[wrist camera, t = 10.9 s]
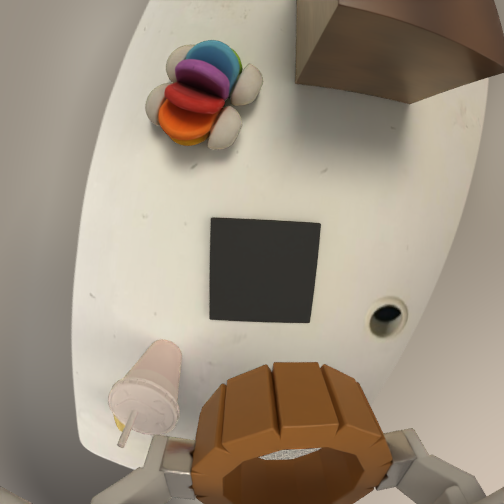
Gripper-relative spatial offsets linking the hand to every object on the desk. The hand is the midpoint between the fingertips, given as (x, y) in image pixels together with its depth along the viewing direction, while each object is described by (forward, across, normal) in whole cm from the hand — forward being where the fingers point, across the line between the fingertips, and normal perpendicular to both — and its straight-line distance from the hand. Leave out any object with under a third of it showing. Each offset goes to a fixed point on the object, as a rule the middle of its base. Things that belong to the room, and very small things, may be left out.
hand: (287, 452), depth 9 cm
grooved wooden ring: (+1, 0, 0) cm, 1 cm away
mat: (+21, 0, 0) cm, 21 cm away
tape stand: (+21, -8, -24) cm, 33 cm away
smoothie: (+21, +10, +10) cm, 25 cm away
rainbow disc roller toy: (+21, +6, -16) cm, 27 cm away
